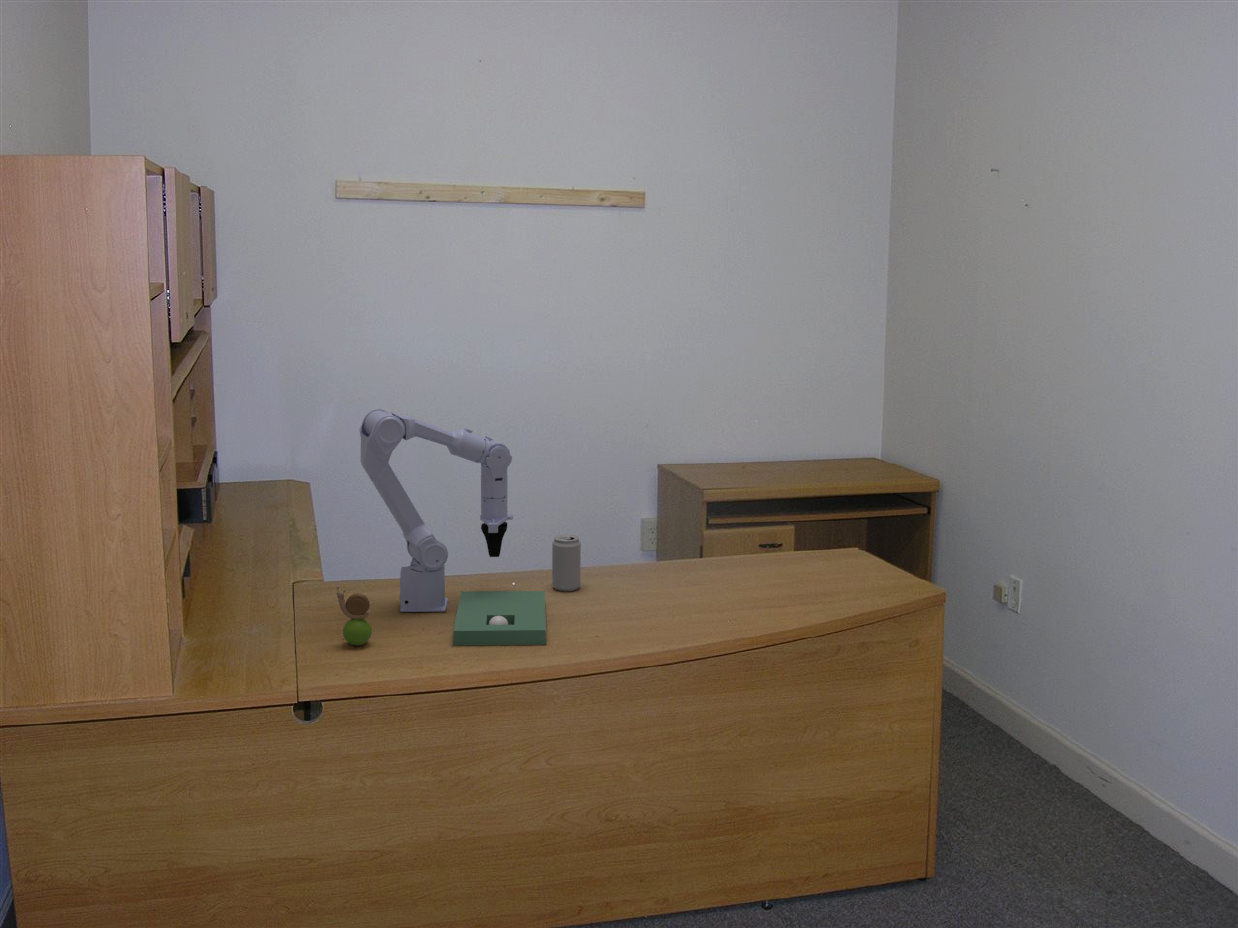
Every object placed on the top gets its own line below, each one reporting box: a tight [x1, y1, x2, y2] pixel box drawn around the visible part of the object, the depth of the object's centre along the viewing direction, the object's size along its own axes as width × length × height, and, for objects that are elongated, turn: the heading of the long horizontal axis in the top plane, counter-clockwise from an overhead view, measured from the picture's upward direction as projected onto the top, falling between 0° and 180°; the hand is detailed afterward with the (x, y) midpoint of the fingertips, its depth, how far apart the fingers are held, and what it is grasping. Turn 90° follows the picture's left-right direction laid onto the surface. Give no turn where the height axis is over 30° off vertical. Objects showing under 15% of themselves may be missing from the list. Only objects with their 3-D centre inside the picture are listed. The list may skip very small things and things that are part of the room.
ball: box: [489, 616, 508, 625], centre depth 219 cm, size 4×4×4 cm
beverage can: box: [551, 534, 582, 592], centre depth 248 cm, size 6×6×12 cm
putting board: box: [452, 590, 547, 646], centre depth 226 cm, size 18×24×3 cm
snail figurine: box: [335, 585, 373, 647], centre depth 212 cm, size 5×6×12 cm
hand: (494, 556), depth 240 cm, fingers closed
